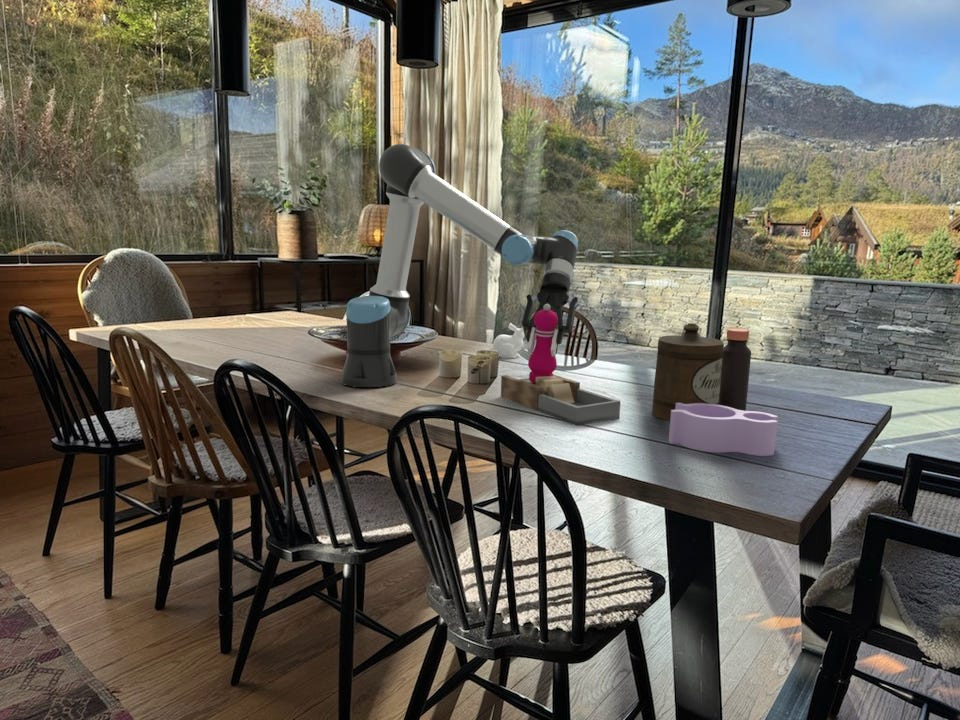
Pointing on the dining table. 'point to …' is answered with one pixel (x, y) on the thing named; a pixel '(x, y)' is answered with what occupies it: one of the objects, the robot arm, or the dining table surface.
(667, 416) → the wooden container
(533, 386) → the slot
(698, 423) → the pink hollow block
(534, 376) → the pepper mill
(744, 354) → the bottle
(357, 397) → the dining table surface
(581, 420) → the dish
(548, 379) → the chip
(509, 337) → the rabbit
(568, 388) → the chip
